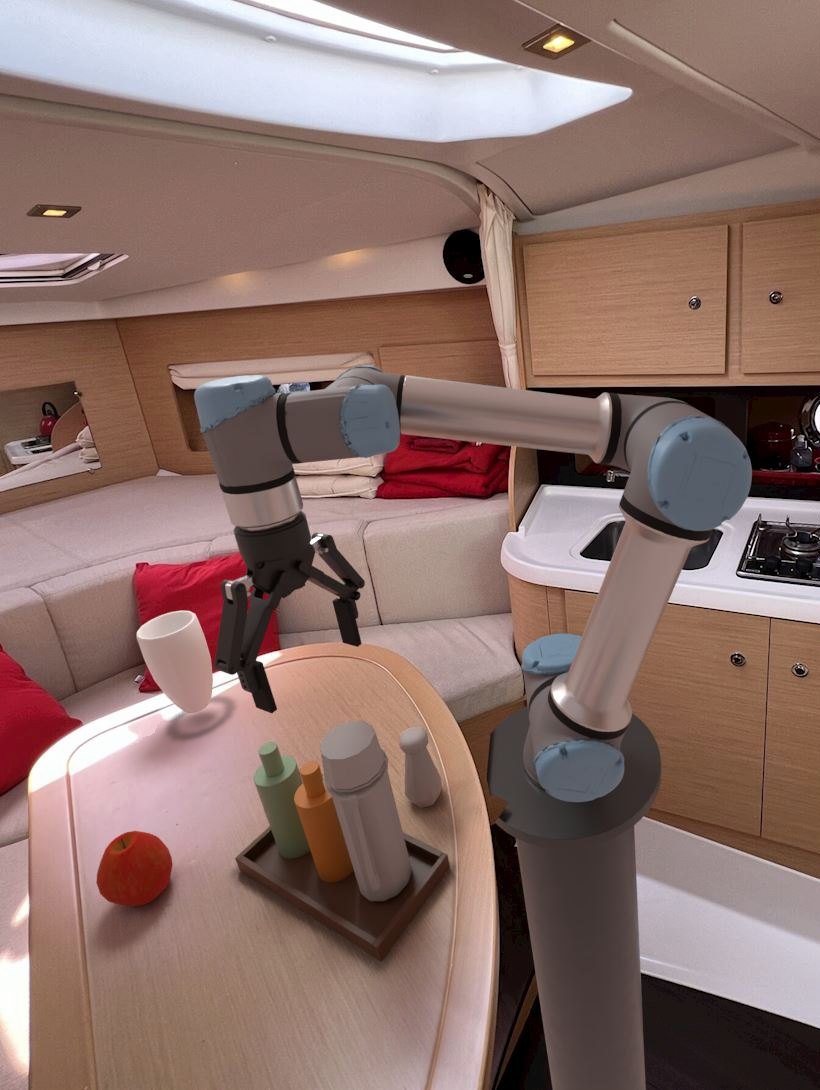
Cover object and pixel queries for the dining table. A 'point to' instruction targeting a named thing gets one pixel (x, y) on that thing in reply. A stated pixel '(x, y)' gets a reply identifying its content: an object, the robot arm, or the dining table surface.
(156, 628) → the cup
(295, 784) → the sage bottle
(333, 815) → the amber bottle
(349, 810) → the water bottle
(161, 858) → the apple
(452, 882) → the dining table surface
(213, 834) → the dining table surface
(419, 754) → the salt shaker
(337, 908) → the tray
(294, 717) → the dining table surface
